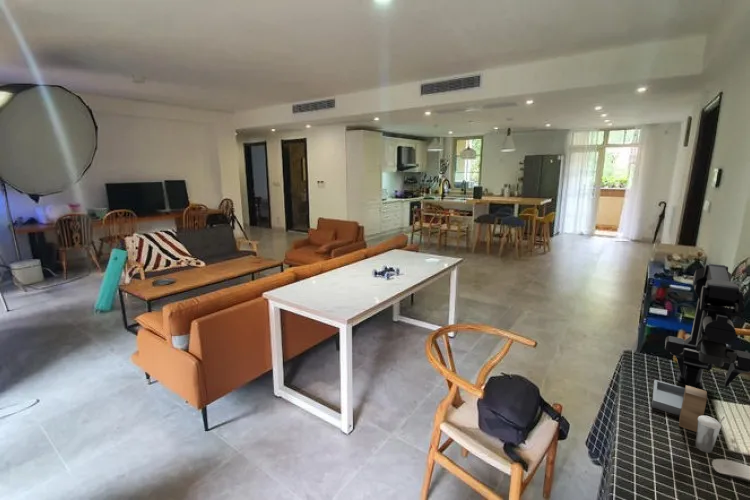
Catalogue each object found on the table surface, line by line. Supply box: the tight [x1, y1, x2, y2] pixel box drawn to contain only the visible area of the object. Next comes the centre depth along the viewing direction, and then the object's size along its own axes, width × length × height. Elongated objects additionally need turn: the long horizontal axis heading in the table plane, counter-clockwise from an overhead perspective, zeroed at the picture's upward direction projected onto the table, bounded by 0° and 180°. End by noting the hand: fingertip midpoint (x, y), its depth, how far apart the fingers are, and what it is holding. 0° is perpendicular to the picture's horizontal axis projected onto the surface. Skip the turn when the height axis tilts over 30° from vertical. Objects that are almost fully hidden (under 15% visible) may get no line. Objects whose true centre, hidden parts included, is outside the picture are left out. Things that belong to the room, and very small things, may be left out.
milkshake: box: [695, 415, 726, 454], centre depth 96 cm, size 4×5×10 cm
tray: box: [651, 379, 685, 417], centre depth 116 cm, size 14×10×2 cm
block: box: [678, 384, 708, 433], centre depth 104 cm, size 4×4×11 cm
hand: (703, 380), depth 102 cm, fingers open, 9 cm apart
